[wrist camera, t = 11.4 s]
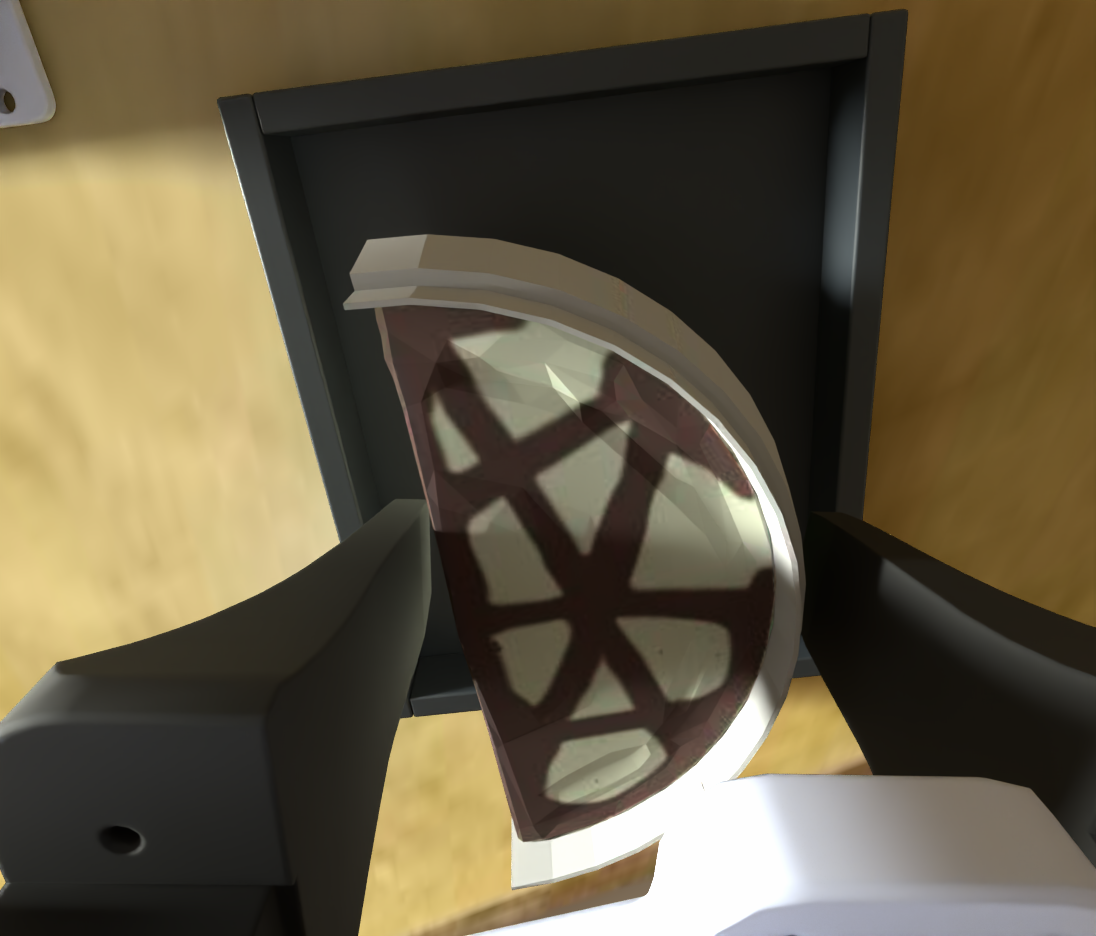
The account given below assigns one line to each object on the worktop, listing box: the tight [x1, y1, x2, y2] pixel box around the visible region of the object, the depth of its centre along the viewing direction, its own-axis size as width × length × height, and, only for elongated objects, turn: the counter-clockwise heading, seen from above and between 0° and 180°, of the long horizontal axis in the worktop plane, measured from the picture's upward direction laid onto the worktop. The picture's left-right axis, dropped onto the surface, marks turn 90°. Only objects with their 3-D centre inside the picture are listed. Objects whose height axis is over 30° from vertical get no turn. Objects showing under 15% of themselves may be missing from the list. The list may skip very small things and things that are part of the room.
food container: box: [343, 234, 806, 890], centre depth 15 cm, size 12×6×10 cm, turn 9°
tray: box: [217, 9, 908, 718], centre depth 19 cm, size 15×18×3 cm
